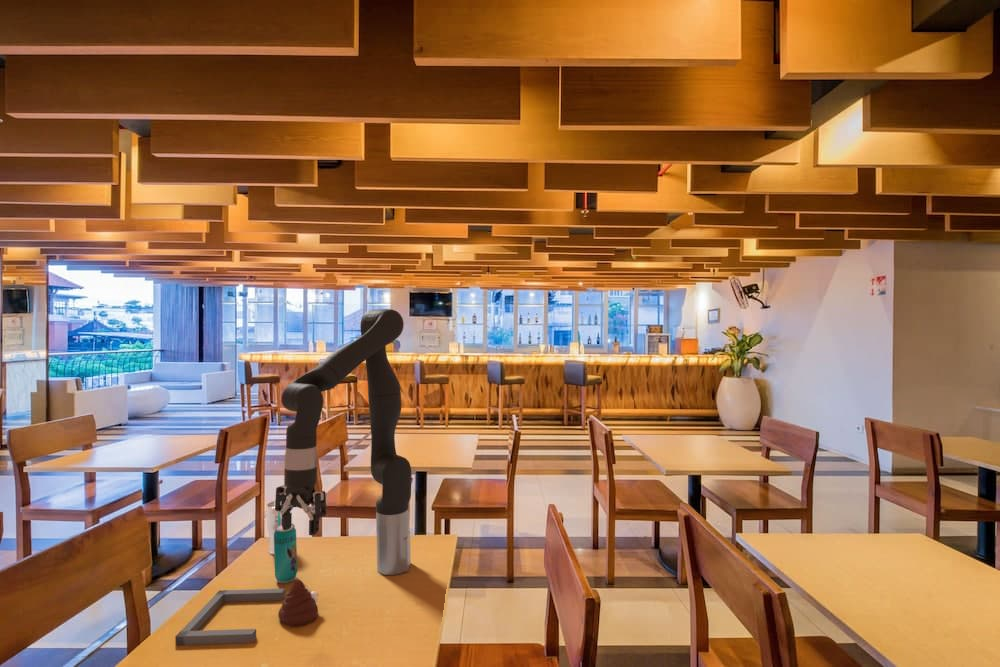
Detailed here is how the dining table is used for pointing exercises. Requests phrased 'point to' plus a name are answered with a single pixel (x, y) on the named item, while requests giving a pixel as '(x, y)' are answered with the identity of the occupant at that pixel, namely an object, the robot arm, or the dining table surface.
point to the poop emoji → (299, 605)
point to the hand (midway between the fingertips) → (299, 531)
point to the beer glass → (272, 523)
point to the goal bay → (195, 637)
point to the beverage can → (285, 554)
